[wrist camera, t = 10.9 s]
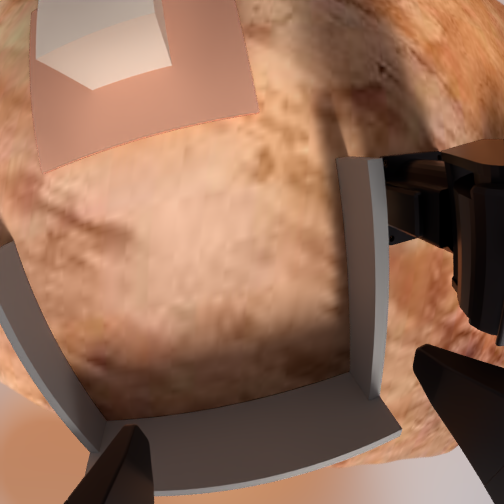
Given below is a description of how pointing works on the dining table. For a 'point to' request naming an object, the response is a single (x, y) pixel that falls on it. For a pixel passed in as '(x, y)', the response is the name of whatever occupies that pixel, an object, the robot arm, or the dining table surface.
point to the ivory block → (101, 39)
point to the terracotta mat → (147, 88)
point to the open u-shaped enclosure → (252, 412)
